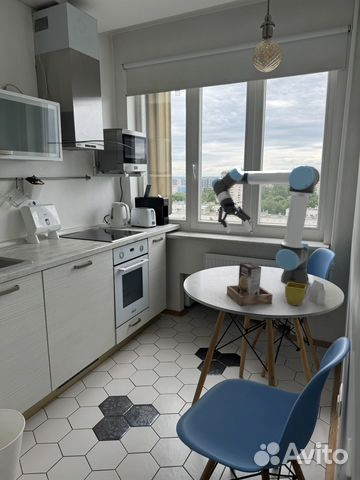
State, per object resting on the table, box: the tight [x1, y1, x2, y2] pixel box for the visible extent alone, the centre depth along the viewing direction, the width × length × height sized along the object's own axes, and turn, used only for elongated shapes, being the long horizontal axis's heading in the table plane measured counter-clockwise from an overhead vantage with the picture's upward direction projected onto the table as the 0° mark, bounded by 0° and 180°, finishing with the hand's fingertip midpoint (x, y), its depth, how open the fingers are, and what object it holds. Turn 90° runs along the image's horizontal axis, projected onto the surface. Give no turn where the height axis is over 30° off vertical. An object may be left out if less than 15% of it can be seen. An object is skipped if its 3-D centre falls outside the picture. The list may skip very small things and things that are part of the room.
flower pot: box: [284, 282, 308, 307], centre depth 154 cm, size 9×9×9 cm
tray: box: [226, 284, 273, 307], centre depth 159 cm, size 16×16×4 cm
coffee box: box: [238, 262, 262, 296], centre depth 158 cm, size 9×6×16 cm
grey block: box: [308, 279, 326, 305], centre depth 157 cm, size 4×7×10 cm, turn 10°
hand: (239, 231), depth 177 cm, fingers open, 13 cm apart
